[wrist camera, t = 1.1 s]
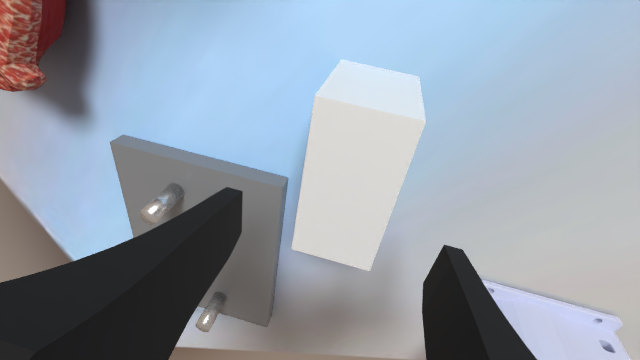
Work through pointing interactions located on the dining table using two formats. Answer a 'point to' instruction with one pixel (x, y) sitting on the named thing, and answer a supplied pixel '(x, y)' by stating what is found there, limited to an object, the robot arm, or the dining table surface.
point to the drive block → (356, 161)
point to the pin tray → (189, 190)
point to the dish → (27, 40)
